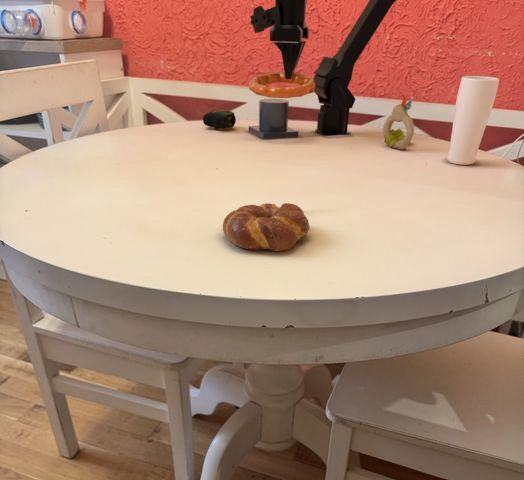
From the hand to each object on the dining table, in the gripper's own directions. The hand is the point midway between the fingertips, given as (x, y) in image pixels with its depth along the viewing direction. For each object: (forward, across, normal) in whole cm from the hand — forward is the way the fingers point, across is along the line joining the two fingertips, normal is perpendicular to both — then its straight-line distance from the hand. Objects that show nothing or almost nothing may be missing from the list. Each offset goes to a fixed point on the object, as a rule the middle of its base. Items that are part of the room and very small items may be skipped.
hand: (288, 78), depth 111 cm
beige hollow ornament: (+12, +4, +27) cm, 30 cm away
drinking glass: (+12, +15, +37) cm, 42 cm away
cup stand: (+12, -1, -3) cm, 13 cm away
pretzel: (+12, +63, +6) cm, 65 cm away
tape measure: (+12, -3, -17) cm, 21 cm away
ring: (+1, +6, 0) cm, 6 cm away
